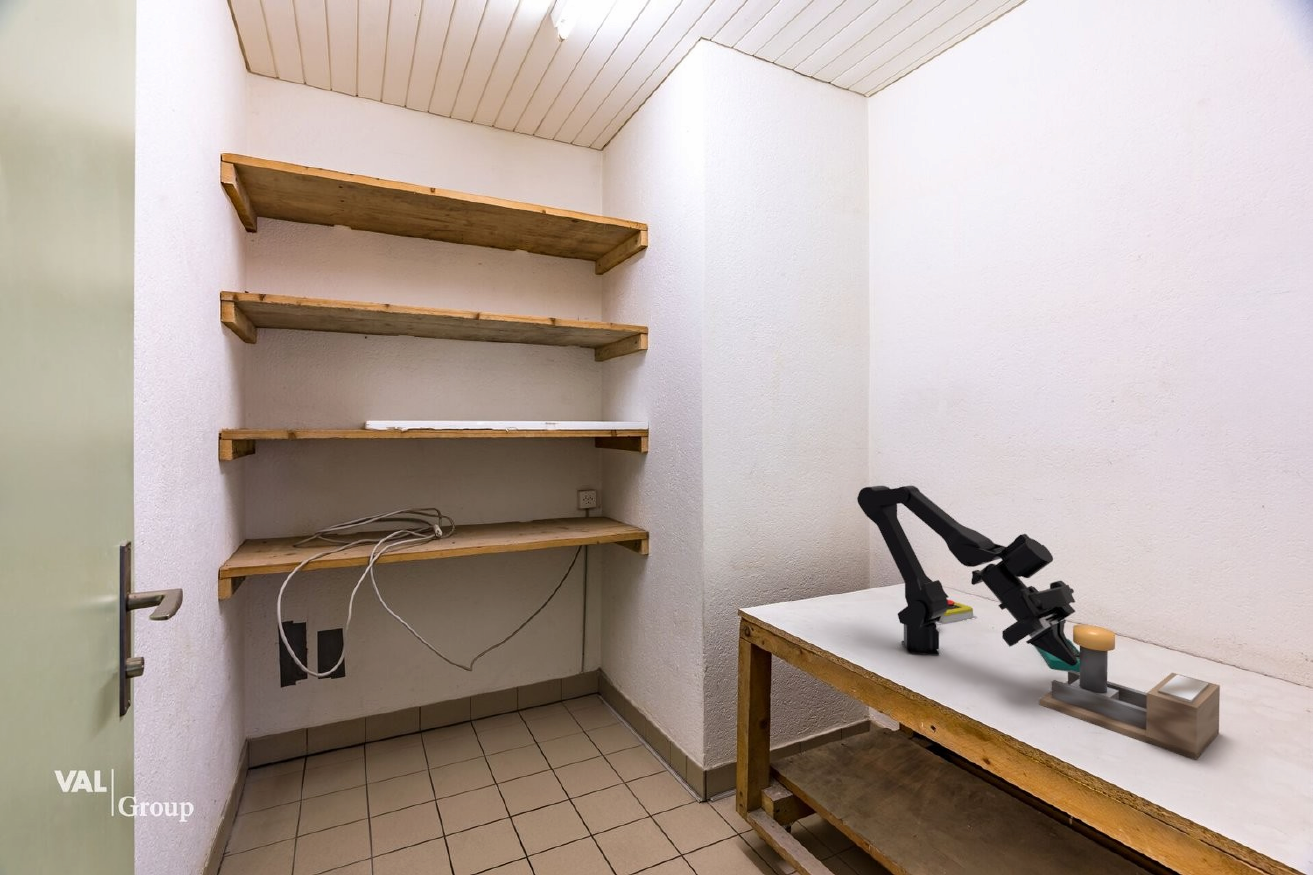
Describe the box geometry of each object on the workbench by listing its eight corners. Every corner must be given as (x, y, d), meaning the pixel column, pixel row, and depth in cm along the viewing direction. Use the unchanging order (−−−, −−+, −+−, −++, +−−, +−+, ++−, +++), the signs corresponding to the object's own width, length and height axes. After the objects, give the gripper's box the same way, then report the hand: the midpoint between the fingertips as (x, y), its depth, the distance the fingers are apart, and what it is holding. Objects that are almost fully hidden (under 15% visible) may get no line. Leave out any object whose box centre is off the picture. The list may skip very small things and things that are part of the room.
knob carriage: (1066, 699, 105) (1067, 629, 104) (1080, 690, 108) (1080, 622, 108) (1106, 713, 100) (1107, 639, 99) (1119, 703, 103) (1120, 631, 103)
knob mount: (1039, 704, 105) (1039, 658, 105) (1068, 685, 113) (1069, 642, 112) (1196, 760, 88) (1197, 705, 87) (1218, 733, 95) (1219, 682, 95)
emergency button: (979, 602, 152) (937, 610, 146) (979, 619, 152) (937, 627, 146) (949, 593, 160) (908, 600, 155) (949, 609, 161) (908, 616, 155)
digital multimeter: (1069, 649, 132) (1069, 636, 132) (1092, 676, 118) (1093, 661, 118) (1032, 645, 134) (1032, 632, 134) (1050, 671, 120) (1050, 657, 120)
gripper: (1020, 575, 105) (1092, 655, 96) (1063, 561, 115) (1132, 631, 107) (975, 608, 111) (1039, 685, 103) (1020, 591, 122) (1081, 660, 113)
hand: (1075, 664), depth 106 cm, fingers closed
